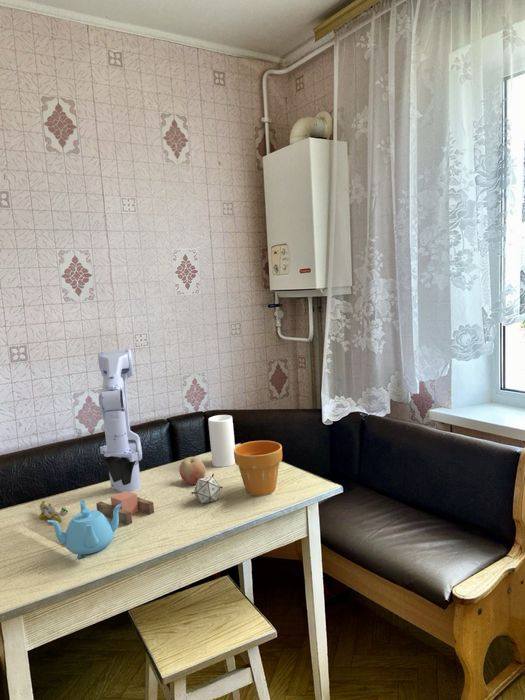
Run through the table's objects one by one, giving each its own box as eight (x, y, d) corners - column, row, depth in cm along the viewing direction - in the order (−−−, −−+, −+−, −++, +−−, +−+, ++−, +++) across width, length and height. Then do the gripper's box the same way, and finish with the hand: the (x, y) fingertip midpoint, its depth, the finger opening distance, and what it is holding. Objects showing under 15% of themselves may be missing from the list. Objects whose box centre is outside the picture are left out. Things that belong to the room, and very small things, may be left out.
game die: (213, 517, 151) (216, 498, 145) (186, 507, 153) (187, 488, 146) (225, 492, 158) (228, 472, 151) (198, 482, 159) (200, 462, 152)
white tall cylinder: (209, 467, 182) (205, 421, 180) (215, 459, 190) (211, 415, 188) (233, 466, 181) (229, 420, 179) (238, 458, 189) (234, 414, 187)
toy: (58, 501, 159) (73, 513, 146) (48, 518, 157) (63, 532, 145) (42, 494, 156) (56, 506, 144) (32, 511, 154) (45, 525, 142)
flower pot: (283, 479, 166) (280, 438, 165) (286, 497, 152) (283, 453, 150) (237, 483, 166) (234, 442, 164) (237, 501, 152) (233, 457, 150)
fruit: (182, 489, 165) (179, 464, 164) (179, 480, 172) (177, 456, 171) (207, 484, 166) (205, 460, 165) (204, 476, 174) (202, 452, 173)
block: (112, 514, 148) (110, 496, 147) (127, 507, 151) (125, 490, 151) (123, 518, 144) (121, 500, 144) (138, 511, 148) (136, 494, 147)
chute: (97, 517, 149) (96, 503, 149) (124, 505, 156) (122, 492, 155) (128, 529, 140) (126, 514, 140) (154, 516, 147) (153, 502, 146)
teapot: (93, 567, 122) (88, 525, 121) (49, 559, 127) (43, 519, 126) (128, 540, 134) (123, 501, 133) (86, 534, 139) (81, 497, 138)
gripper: (88, 434, 147) (94, 482, 148) (119, 441, 137) (125, 492, 139) (110, 428, 152) (116, 474, 154) (141, 434, 142) (147, 483, 144)
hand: (122, 482), depth 147 cm, fingers open, 4 cm apart
